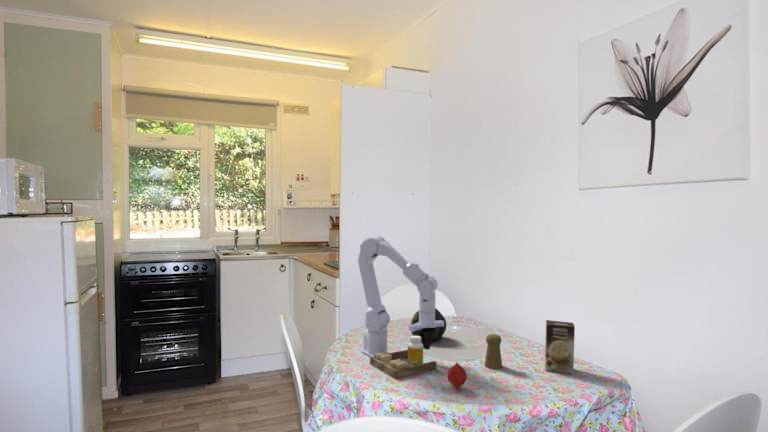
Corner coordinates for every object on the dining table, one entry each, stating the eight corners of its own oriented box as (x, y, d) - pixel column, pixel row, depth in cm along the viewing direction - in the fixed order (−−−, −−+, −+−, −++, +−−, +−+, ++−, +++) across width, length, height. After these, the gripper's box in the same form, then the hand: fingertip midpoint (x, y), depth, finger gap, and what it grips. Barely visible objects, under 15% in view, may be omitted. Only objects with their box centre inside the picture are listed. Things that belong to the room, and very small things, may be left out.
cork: (502, 370, 151) (503, 337, 151) (484, 368, 152) (485, 336, 152) (501, 364, 157) (502, 333, 157) (484, 362, 158) (484, 332, 158)
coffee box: (544, 371, 151) (545, 324, 150) (544, 365, 157) (545, 319, 156) (574, 374, 148) (574, 326, 147) (572, 368, 154) (573, 322, 153)
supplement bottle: (420, 368, 152) (420, 339, 152) (405, 365, 154) (405, 338, 154) (425, 363, 157) (425, 336, 157) (410, 361, 159) (411, 334, 159)
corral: (369, 364, 156) (370, 357, 156) (409, 356, 165) (409, 349, 165) (395, 378, 142) (395, 371, 142) (436, 369, 151) (436, 361, 151)
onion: (445, 384, 138) (445, 359, 138) (463, 384, 138) (463, 358, 138) (449, 392, 132) (450, 365, 132) (468, 391, 133) (469, 365, 132)
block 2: (389, 373, 148) (389, 361, 148) (399, 370, 150) (399, 359, 150) (397, 376, 144) (397, 364, 144) (406, 374, 147) (406, 362, 147)
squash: (412, 319, 198) (412, 299, 188) (446, 322, 196) (447, 301, 186) (409, 347, 188) (409, 327, 178) (445, 351, 186) (446, 330, 176)
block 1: (375, 365, 155) (375, 353, 155) (385, 362, 158) (385, 351, 157) (381, 368, 152) (382, 356, 152) (391, 366, 154) (391, 354, 154)
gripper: (417, 315, 152) (416, 355, 152) (449, 311, 160) (449, 348, 160) (405, 311, 158) (405, 349, 158) (437, 307, 165) (436, 343, 166)
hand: (426, 348), depth 159 cm, fingers closed
